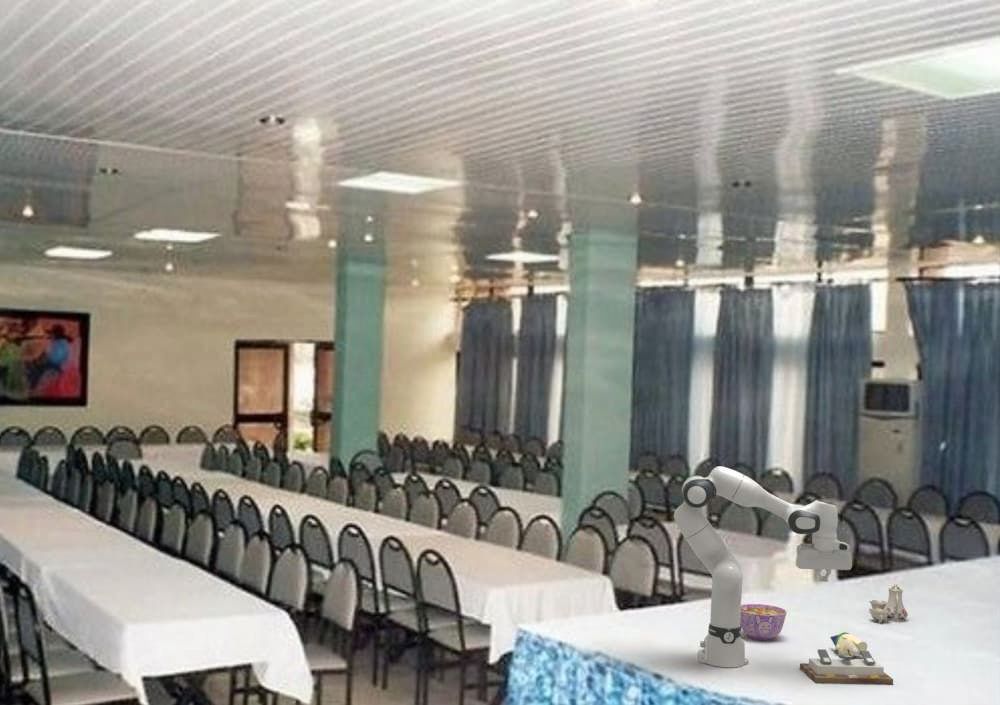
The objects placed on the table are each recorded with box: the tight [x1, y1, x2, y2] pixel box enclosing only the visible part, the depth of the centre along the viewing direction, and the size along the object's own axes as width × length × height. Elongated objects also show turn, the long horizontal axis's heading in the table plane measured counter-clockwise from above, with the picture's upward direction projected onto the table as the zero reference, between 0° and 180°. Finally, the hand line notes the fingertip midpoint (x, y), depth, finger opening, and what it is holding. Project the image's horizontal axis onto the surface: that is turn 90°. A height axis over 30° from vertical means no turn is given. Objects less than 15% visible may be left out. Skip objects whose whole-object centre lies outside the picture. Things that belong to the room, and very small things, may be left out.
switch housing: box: [808, 657, 884, 676], centre depth 407 cm, size 10×24×4 cm, turn 93°
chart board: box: [799, 662, 894, 686], centre depth 407 cm, size 18×28×2 cm, turn 93°
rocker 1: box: [817, 649, 832, 664], centre depth 406 cm, size 7×3×1 cm, turn 3°
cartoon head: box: [830, 631, 868, 657], centre depth 436 cm, size 9×10×20 cm
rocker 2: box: [838, 654, 855, 660], centre depth 407 cm, size 7×3×1 cm, turn 3°
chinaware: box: [869, 583, 909, 624], centre depth 500 cm, size 28×17×17 cm, turn 166°
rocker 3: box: [860, 650, 875, 665], centre depth 407 cm, size 7×3×1 cm, turn 3°
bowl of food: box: [740, 603, 787, 641], centre depth 459 cm, size 20×20×12 cm
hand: (823, 581), depth 413 cm, fingers closed
